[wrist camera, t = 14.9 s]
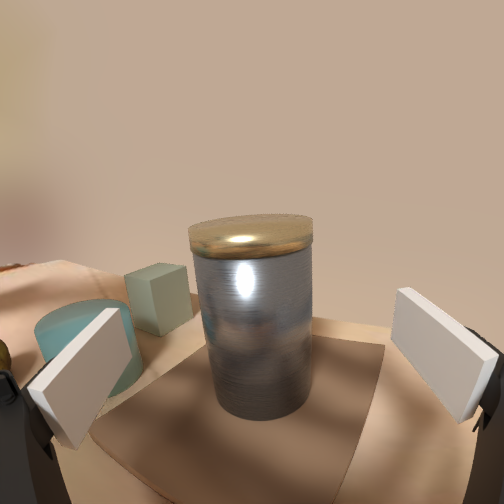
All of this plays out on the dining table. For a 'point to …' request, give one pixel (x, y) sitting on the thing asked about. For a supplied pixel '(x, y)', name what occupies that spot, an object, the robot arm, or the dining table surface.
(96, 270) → the dining table surface
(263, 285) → the tea tin
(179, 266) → the sage box
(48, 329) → the teal domed cylinder
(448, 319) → the robot arm
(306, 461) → the walnut board
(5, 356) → the potato
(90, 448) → the dining table surface
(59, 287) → the dining table surface
